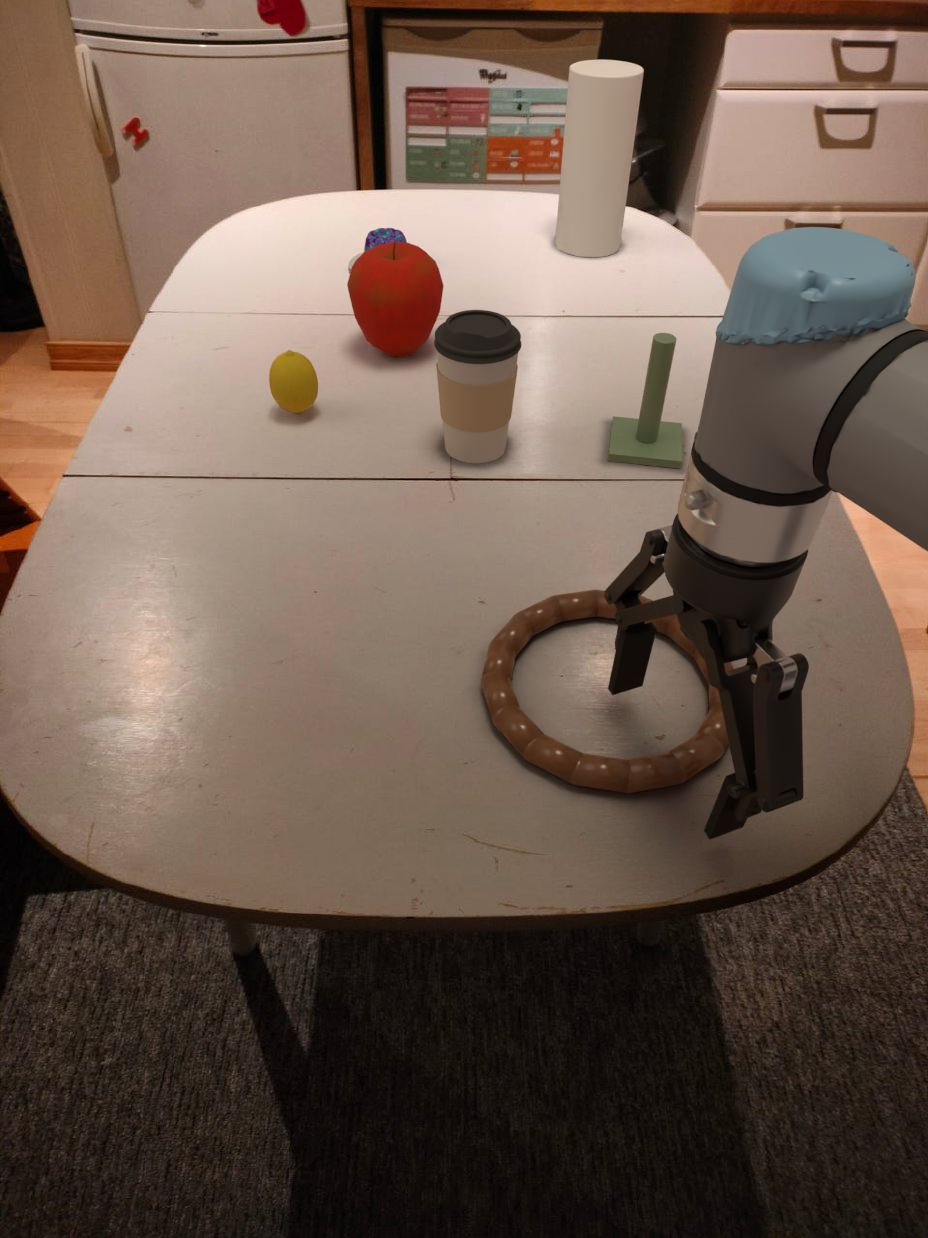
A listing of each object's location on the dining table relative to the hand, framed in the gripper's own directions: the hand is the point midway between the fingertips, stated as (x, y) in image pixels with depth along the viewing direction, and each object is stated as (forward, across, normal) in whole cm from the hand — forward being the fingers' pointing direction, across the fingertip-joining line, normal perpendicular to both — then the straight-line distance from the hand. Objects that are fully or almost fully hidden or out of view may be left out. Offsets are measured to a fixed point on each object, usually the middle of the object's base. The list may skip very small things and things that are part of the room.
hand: (670, 753), depth 62 cm
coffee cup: (+3, -47, +4) cm, 47 cm away
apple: (+4, -72, +3) cm, 72 cm away
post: (+3, -40, +22) cm, 46 cm away
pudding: (+4, -98, +10) cm, 99 cm away
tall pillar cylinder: (+4, -96, +44) cm, 105 cm away
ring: (+2, -9, 0) cm, 9 cm away
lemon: (+4, -61, -13) cm, 62 cm away
